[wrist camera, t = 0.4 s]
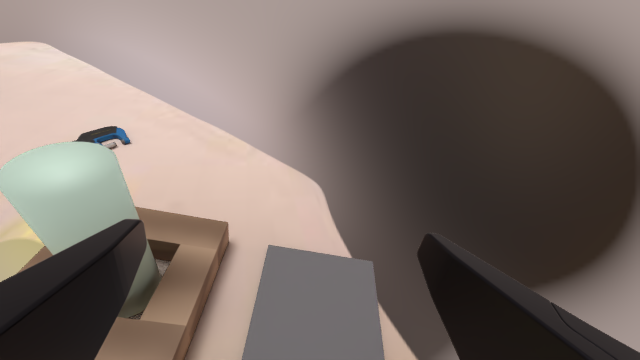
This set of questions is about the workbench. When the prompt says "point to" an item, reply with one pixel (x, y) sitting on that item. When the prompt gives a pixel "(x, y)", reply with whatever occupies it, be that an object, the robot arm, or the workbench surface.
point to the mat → (314, 309)
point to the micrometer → (104, 136)
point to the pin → (76, 203)
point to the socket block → (168, 287)
